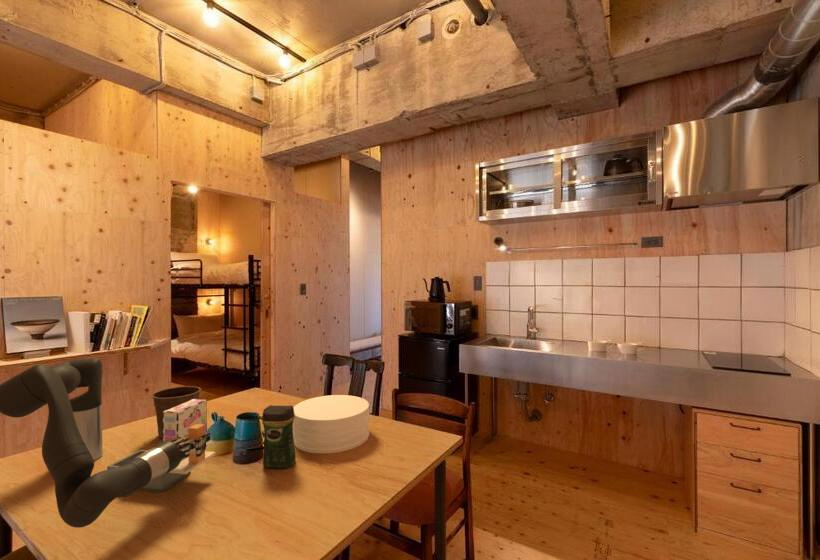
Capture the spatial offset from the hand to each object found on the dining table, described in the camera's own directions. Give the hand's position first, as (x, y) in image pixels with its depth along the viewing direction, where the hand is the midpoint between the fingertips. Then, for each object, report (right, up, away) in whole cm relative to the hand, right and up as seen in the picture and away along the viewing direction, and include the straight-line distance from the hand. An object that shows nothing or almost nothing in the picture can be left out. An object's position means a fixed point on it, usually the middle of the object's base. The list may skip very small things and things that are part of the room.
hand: (203, 435), depth 115 cm
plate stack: (+32, -13, +30) cm, 46 cm away
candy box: (-16, -13, +18) cm, 27 cm away
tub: (-16, -13, 0) cm, 21 cm away
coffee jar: (+19, -13, +9) cm, 25 cm away
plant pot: (-29, -13, +35) cm, 47 cm away
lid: (-8, -7, -1) cm, 11 cm away
